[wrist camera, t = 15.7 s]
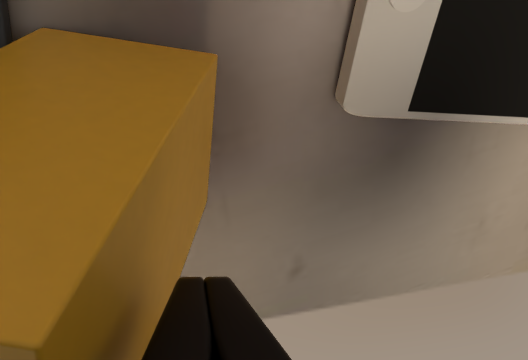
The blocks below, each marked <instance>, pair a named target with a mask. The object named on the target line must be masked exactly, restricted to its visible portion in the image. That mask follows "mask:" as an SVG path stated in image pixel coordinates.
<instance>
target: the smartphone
mask: <svg viewBox="0 0 528 360" xmlns="http://www.w3.org/2000/svg"><path fill="white" fill-rule="evenodd" d="M335 97H336V100H337V101H338V102H339V104H340V105H341V106H342V108H343V109H344V110H345V111H346V112H347V113H349V114H352V115H354V116H361V117H378V118H399V119H419V120H440V121H460V122H481V123H502V124H522V125H528V0H356V3H355V8H354V12H353V17H352V21H351V26H350V30H349V35H348V39H347V44H346V48H345V53H344V57H343V62H342V66H341V71H340V75H339V80H338V84H337V89H336V93H335Z"/></svg>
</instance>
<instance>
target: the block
mask: <svg viewBox="0 0 528 360" xmlns="http://www.w3.org/2000/svg"><path fill="white" fill-rule="evenodd" d="M217 60H218V56H217V55H216V54H212V53H205V52H199V51H192V50H185V49H179V48H172V47H166V46H159V45H153V44H146V43H140V42H133V41H127V40H120V39H114V38H107V37H101V36H94V35H88V34H81V33H75V32H68V31H62V30H55V29H49V28H40V29H38V30H36V31H34V32H32V33H30V34H28V35H26V36H24V37H22V38H20V39H18V40H16V41H14V42H12V43H10V44H8V45H6V46H4V47H2V48H0V360H141V359H142V357H143V355H144V353H145V350H146V348H147V346H148V344H149V341H150V339H151V337H152V335H153V333H154V330H155V328H156V326H157V324H158V322H159V319H160V317H161V315H162V313H163V311H164V308H165V306H166V304H167V302H168V299H169V297H170V295H171V293H172V291H173V288H174V286H175V284H176V282H177V280H178V279H179V278H180V275H181V272H182V269H183V267H184V264H185V261H186V258H187V255H188V253H189V250H190V247H191V244H192V241H193V239H194V236H195V233H196V230H197V228H198V225H199V222H200V219H201V216H202V214H203V211H204V208H205V205H206V202H207V194H208V181H209V167H210V154H211V140H212V127H213V113H214V100H215V87H216V73H217Z"/></svg>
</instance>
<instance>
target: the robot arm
mask: <svg viewBox="0 0 528 360" xmlns="http://www.w3.org/2000/svg"><path fill="white" fill-rule="evenodd" d="M141 360H291V358H290V357H289V356H288V354H287V353H286V352H285V350H284V349H283V348H282V346H281V345H280V344H279V342H278V341H277V340H276V338H275V337H274V336H273V334H272V333H271V332H270V330H269V329H268V328H267V327H266V325H265V324H264V323H263V321H262V320H261V319H260V317H259V316H258V315H257V313H256V312H255V311H254V309H253V308H252V307H251V305H250V304H249V303H248V301H247V300H246V299H245V297H244V296H243V295H242V293H241V292H240V291H239V290H238V288H237V287H236V286H235V284H234V283H233V282H232V280H231V279H230V278H228V277H207V278H205V279H204V280H203V278H201V277H181V278H179V279H178V280H177V282H176V284H175V286H174V288H173V291H172V293H171V295H170V297H169V299H168V302H167V304H166V306H165V308H164V311H163V313H162V315H161V317H160V319H159V322H158V324H157V326H156V328H155V330H154V333H153V335H152V337H151V339H150V341H149V344H148V346H147V348H146V350H145V353H144V355H143V357H142V359H141Z"/></svg>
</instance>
